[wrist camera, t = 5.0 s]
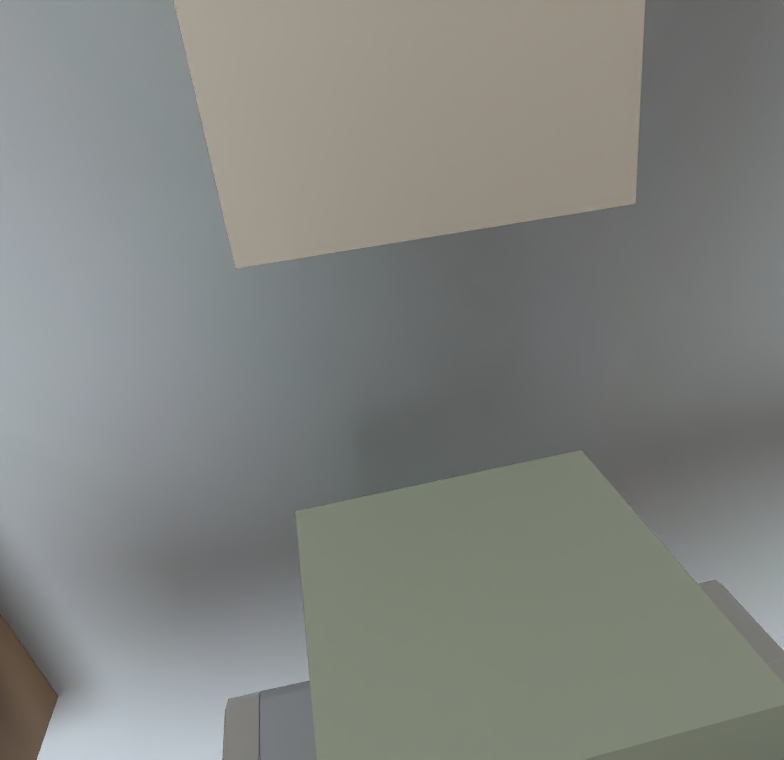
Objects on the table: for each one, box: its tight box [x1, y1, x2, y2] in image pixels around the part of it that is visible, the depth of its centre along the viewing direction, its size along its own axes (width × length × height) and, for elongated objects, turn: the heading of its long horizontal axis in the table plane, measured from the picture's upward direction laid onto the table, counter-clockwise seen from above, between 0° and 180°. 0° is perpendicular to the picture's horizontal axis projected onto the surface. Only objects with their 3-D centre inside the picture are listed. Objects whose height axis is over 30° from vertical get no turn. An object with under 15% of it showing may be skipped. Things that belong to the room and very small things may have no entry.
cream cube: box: [173, 0, 645, 269], centre depth 9 cm, size 5×5×5 cm
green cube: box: [295, 450, 784, 760], centre depth 10 cm, size 5×5×5 cm
